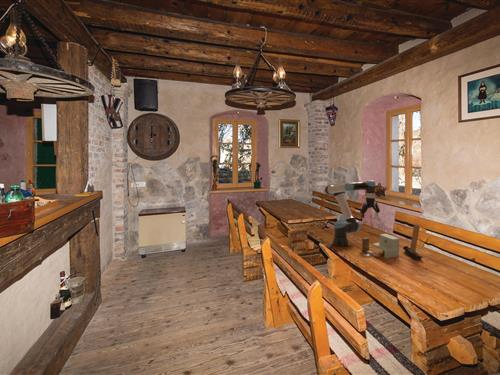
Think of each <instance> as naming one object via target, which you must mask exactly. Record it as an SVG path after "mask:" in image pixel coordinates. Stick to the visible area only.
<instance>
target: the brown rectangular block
mask: <svg viewBox="0 0 500 375" xmlns="http://www.w3.org/2000/svg"><path fill="white" fill-rule="evenodd" d="M361 241H362V245H361V246H362V247H361V249H362V252H364V253H368V254H371V256H374V257H375V258H380V257H381V255H380V254H378V253H377V252H376V253H375V252H374V251H372V250H370V238H369V237H362V240H361Z"/></svg>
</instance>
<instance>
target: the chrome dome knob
mask: <svg viewBox="0 0 500 375" xmlns="http://www.w3.org/2000/svg"><path fill="white" fill-rule="evenodd" d="M371 256H372V254H370V253H367V252H364V253H363V257H366V258H370V257H371Z"/></svg>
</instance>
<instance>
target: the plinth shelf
mask: <svg viewBox="0 0 500 375" xmlns="http://www.w3.org/2000/svg"><path fill="white" fill-rule="evenodd" d="M371 245H372V247H374V248H376V249H379V250H381V251H383V252H384V256H383V257H384V259H390V258H395V257H399V255H400V253H399V252H400V237H396V236H393V235H391V234H388V233H382V234H379V242H375V243H372V244H371Z"/></svg>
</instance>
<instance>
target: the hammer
mask: <svg viewBox="0 0 500 375" xmlns="http://www.w3.org/2000/svg"><path fill="white" fill-rule="evenodd" d="M420 228H421V225H420V224H418V223H414V224H413V228H412V230H413V231H412V236H411V243H410V247H409V246H408V245H404V247H403V248H402V249H403V250H404V253H405V254H406V255H408V256H409V257H411V258H412V259H413V258H414V259H413V260H421V259H423V258H424V256H422V255H419V253H418V252H417V251H416V249H417V244H418V239H419V234H420Z"/></svg>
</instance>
